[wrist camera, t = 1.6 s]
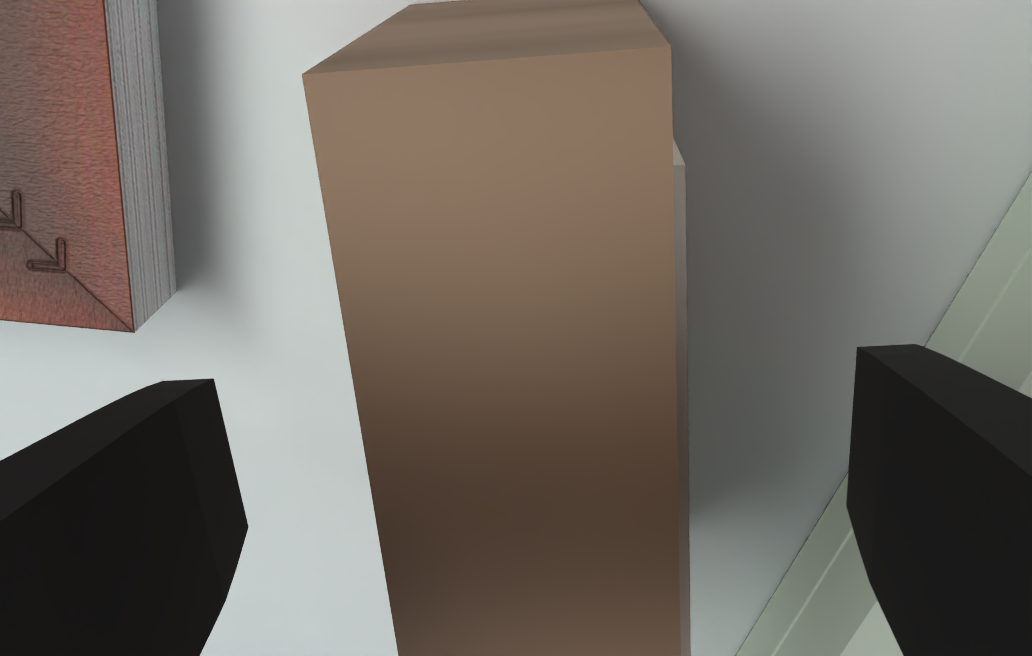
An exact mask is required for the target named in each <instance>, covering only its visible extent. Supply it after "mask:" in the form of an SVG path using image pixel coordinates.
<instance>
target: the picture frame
mask: <svg viewBox="0 0 1032 656" xmlns="http://www.w3.org/2000/svg"><path fill="white" fill-rule="evenodd" d="M176 291H177V285H176V271H175V257H174V242H173V228H172V214H171V199H170V185H169V171H168V157H167V142H166V128H165V114H164V100H163V85H162V71H161V57H160V42H159V28H158V14H157V0H0V320H4V321H15V322H25V323H36V324H47V325H57V326H68V327H79V328H89V329H100V330H111V331H121V332H132V333H135V332H136V331H137V330H138V329H139V328H140V327H141V326H142V325H143V324H144V323H145V322H146V321H147V320H148V319H149V318H150V317H151V316H152V315H153V314H154V313H155V312H156V311H157V310H158V309H159V308H160V307H161V306H162V305H163V304H164V303H165V302H166V301H167V300H168V299H169V298H170V297H171V296H172V295H173V294H174V293H175V292H176Z"/></svg>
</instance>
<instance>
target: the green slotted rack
mask: <svg viewBox="0 0 1032 656" xmlns="http://www.w3.org/2000/svg"><path fill="white" fill-rule="evenodd" d="M925 348H928V349H931V350H933V351H936V352H938V353H940V354H943V355H945V356H947V357H949V358H951V359H953V360H956V361H958V362H960V363H962V364H964V365H966V366H968V367H970V368H972V369H974V370H976V371H978V372H980V373H982V374H984V375H986V376H988V377H990V378H992V379H994V380H996V381H998V382H1000V383H1002V384H1004V385H1006V386H1008V387H1010V388H1012V389H1014V390H1016V391H1018V392H1020V393H1022V394H1024V395H1026V396H1028V397H1031V398H1032V172H1031V174H1030V176H1029V177H1028V179H1027V181H1026V182H1025V184H1024V186H1023V187H1022V189H1021V190H1020V192H1019V194H1018V195H1017V197H1016V199H1015V200H1014V202H1013V204H1012V205H1011V207H1010V208H1009V210H1008V212H1007V213H1006V215H1005V217H1004V218H1003V220H1002V222H1001V223H1000V225H999V226H998V228H997V230H996V231H995V233H994V235H993V236H992V238H991V239H990V241H989V243H988V244H987V246H986V248H985V249H984V251H983V253H982V254H981V256H980V257H979V259H978V261H977V262H976V264H975V266H974V267H973V269H972V271H971V272H970V274H969V275H968V277H967V279H966V280H965V282H964V284H963V285H962V287H961V289H960V290H959V292H958V293H957V295H956V297H955V298H954V300H953V302H952V303H951V305H950V307H949V308H948V310H947V311H946V313H945V315H944V316H943V318H942V320H941V321H940V323H939V324H938V326H937V328H936V329H935V331H934V333H933V334H932V336H931V338H930V339H929V341H928V342H927V344H926V346H925ZM847 486H848V473H847V475H846V477H845V478H844V480H843V481H842V483H841V485H840V486H839V488H838V490H837V491H836V493H835V495H834V496H833V498H832V499H831V501H830V503H829V504H828V506H827V508H826V509H825V511H824V512H823V514H822V516H821V517H820V519H819V521H818V522H817V524H816V526H815V527H814V529H813V530H812V532H811V534H810V535H809V537H808V539H807V540H806V542H805V544H804V545H803V547H802V548H801V550H800V552H799V553H798V555H797V557H796V558H795V560H794V562H793V563H792V565H791V566H790V568H789V570H788V571H787V573H786V575H785V576H784V578H783V580H782V581H781V583H780V584H779V586H778V588H777V589H776V591H775V593H774V594H773V596H772V598H771V599H770V601H769V602H768V604H767V606H766V607H765V609H764V611H763V612H762V614H761V615H760V617H759V619H758V620H757V622H756V624H755V625H754V627H753V629H752V630H751V632H750V633H749V635H748V637H747V638H746V640H745V642H744V643H743V645H742V647H741V648H740V650H739V651H738V653H737V655H736V656H903V654H902V652H901V650H900V648H899V645H898V643H897V641H896V639H895V637H894V635H893V633H892V630H891V628H890V626H889V624H888V622H887V620H886V618H885V615H884V613H883V611H882V609H881V607H880V605H879V602H878V600H877V598H876V596H875V594H874V591H873V589H872V587H871V585H870V583H869V580H868V576H867V573H866V570H865V567H864V564H863V561H862V558H861V555H860V551H859V548H858V545H857V541H856V538H855V535H854V531H853V528H852V524H851V521H850V517H849V514H848V510H847V507H846V500H847Z"/></svg>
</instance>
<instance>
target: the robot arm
mask: <svg viewBox="0 0 1032 656" xmlns="http://www.w3.org/2000/svg"><path fill="white" fill-rule="evenodd" d="M846 507H847V510H848V514H849V517H850V521H851V524H852V528H853V531H854V535H855V538H856V541H857V545H858V548H859V551H860V555H861V558H862V561H863V564H864V567H865V570H866V573H867V576H868V580H869V583H870V585H871V587H872V589H873V591H874V594H875V596H876V598H877V600H878V602H879V605H880V607H881V609H882V611H883V613H884V615H885V618H886V620H887V622H888V624H889V626H890V628H891V630H892V633H893V635H894V637H895V639H896V641H897V643H898V645H899V648H900V650H901V652H902V654H903V656H1032V398H1031V397H1028V396H1026V395H1024V394H1022V393H1020V392H1018V391H1016V390H1014V389H1012V388H1010V387H1008V386H1006V385H1004V384H1002V383H1000V382H998V381H996V380H994V379H992V378H990V377H988V376H986V375H984V374H982V373H980V372H978V371H976V370H974V369H972V368H970V367H968V366H966V365H964V364H962V363H960V362H958V361H956V360H953V359H951V358H949V357H947V356H945V355H943V354H940V353H938V352H936V351H933V350H931V349H928V348H925V347H922V346H919V345H916V344H909V345H889V346H868V347H857V356H856V370H855V385H854V399H853V414H852V428H851V443H850V457H849V471H848V486H847V500H846ZM247 530H248V524H247V519H246V515H245V511H244V506H243V502H242V498H241V494H240V489H239V485H238V481H237V476H236V472H235V468H234V463H233V459H232V455H231V451H230V446H229V442H228V438H227V433H226V429H225V425H224V421H223V416H222V412H221V408H220V403H219V399H218V395H217V391H216V386H215V382H214V379H196V380H175V381H162V382H159V383H156V384H153V385H150V386H147V387H145V388H142V389H140V390H137V391H135V392H133V393H131V394H129V395H126V396H124V397H122V398H120V399H118V400H116V401H114V402H112V403H110V404H108V405H106V406H104V407H102V408H100V409H98V410H96V411H94V412H92V413H90V414H89V415H87V416H85V417H83V418H81V419H79V420H77V421H75V422H73V423H71V424H69V425H68V426H66V427H64V428H62V429H60V430H58V431H56V432H54V433H52V434H51V435H49V436H47V437H45V438H43V439H41V440H39V441H37V442H35V443H33V444H32V445H30V446H28V447H26V448H24V449H22V450H20V451H18V452H16V453H15V454H13V455H11V456H9V457H7V458H5V459H3V460H1V461H0V656H200V654H201V652H202V650H203V647H204V645H205V643H206V641H207V639H208V637H209V635H210V633H211V631H212V629H213V627H214V625H215V622H216V620H217V618H218V616H219V614H220V612H221V609H222V607H223V605H224V603H225V601H226V598H227V595H228V592H229V589H230V586H231V583H232V580H233V577H234V574H235V571H236V568H237V564H238V561H239V558H240V554H241V551H242V547H243V544H244V540H245V537H246V534H247Z"/></svg>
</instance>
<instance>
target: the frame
mask: <svg viewBox="0 0 1032 656" xmlns="http://www.w3.org/2000/svg"><path fill="white" fill-rule="evenodd" d="M302 78H303V84H304V90H305V96H306V102H307V108H308V114H309V120H310V126H311V132H312V138H313V144H314V150H315V156H316V162H317V168H318V174H319V180H320V186H321V192H322V198H323V204H324V210H325V216H326V222H327V228H328V234H329V240H330V246H331V252H332V259H333V265H334V271H335V277H336V283H337V289H338V295H339V301H340V307H341V313H342V319H343V325H344V331H345V337H346V343H347V349H348V355H349V361H350V367H351V373H352V379H353V385H354V391H355V397H356V403H357V409H358V415H359V421H360V427H361V433H362V439H363V445H364V451H365V457H366V463H367V469H368V475H369V481H370V487H371V493H372V499H373V505H374V511H375V517H376V523H377V529H378V535H379V541H380V547H381V553H382V559H383V565H384V571H385V577H386V583H387V589H388V595H389V601H390V607H391V613H392V619H393V625H394V631H395V637H396V643H397V649H398V655H399V656H691V650H690V554H689V457H688V360H687V264H686V167H685V162H684V160H683V158H682V156H681V154H680V152H679V149H678V147H677V145H676V143H675V141H674V138H673V120H672V55H671V45H670V44H669V42H668V41H667V40H666V38H665V37H664V36H663V34H662V33H661V31H660V30H659V29H658V27H657V26H656V25H655V23H654V22H653V21H652V19H651V18H650V17H649V15H648V14H647V12H646V11H645V10H644V8H643V7H642V6H641V4H640V3H639V2H638V0H463V1H451V2H438V3H426V4H414V5H409V6H407V7H406V8H404V9H402V10H401V11H399V12H398V13H396V14H395V15H393V16H392V17H390V18H389V19H387V20H385V21H384V22H382V23H381V24H379V25H378V26H376V27H375V28H373V29H371V30H370V31H368V32H367V33H365V34H364V35H362V36H361V37H359V38H357V39H356V40H354V41H353V42H351V43H350V44H348V45H347V46H345V47H344V48H342V49H340V50H339V51H337V52H336V53H334V54H333V55H331V56H330V57H328V58H326V59H325V60H323V61H322V62H320V63H319V64H317V65H316V66H314V67H313V68H311V69H309V70H308V71H306V72H305V73H303V74H302Z"/></svg>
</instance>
